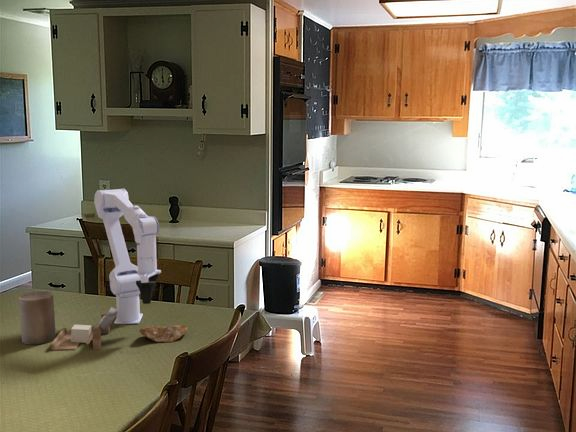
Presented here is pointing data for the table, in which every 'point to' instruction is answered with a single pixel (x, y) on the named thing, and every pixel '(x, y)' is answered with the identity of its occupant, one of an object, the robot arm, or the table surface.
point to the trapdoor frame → (65, 342)
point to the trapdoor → (105, 321)
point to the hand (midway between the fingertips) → (148, 300)
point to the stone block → (80, 333)
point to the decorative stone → (164, 333)
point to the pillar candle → (37, 317)
